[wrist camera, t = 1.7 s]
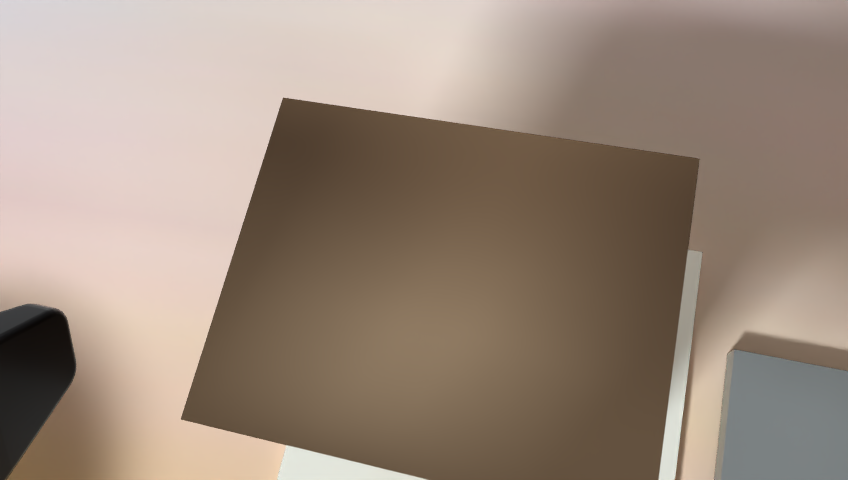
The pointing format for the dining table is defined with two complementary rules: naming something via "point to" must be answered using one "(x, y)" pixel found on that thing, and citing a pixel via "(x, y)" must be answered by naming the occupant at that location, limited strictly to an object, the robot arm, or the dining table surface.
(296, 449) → the tile
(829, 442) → the coaster
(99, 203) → the dining table surface
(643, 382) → the block
